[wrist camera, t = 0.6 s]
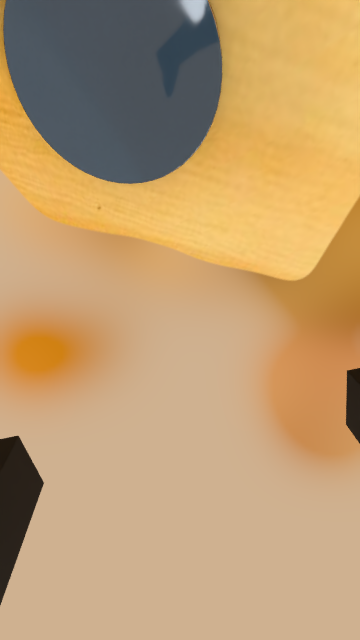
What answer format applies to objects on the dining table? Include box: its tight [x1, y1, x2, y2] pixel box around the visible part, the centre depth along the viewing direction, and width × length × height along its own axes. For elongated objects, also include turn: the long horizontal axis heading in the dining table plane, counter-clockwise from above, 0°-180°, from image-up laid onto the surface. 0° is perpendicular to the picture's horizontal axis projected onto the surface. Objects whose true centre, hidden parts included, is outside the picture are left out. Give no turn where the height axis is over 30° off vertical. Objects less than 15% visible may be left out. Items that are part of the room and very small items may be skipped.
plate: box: [3, 0, 222, 184], centre depth 29 cm, size 18×18×1 cm
